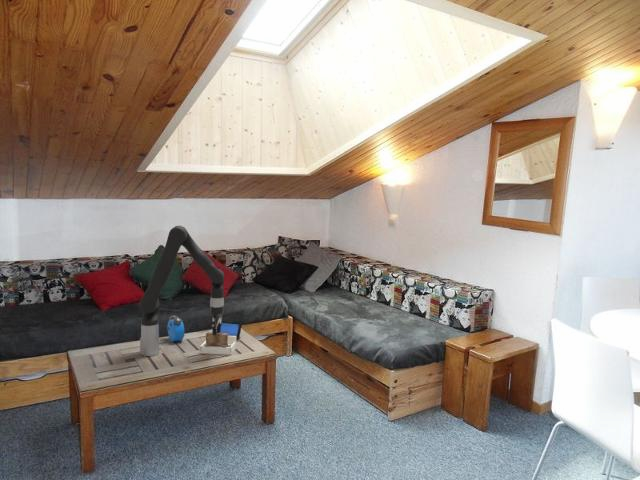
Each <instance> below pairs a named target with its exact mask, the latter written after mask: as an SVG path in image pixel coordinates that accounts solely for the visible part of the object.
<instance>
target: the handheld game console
mask: <svg viewBox="0 0 640 480" xmlns="http://www.w3.org/2000/svg"><path fill="white" fill-rule="evenodd" d="M242 327H243V326H242V323H241V322H232V321H223V320H222V322H221V330H220V331H217V333H228V336H236V342H238V341H239V340H240V336H241V331H242Z"/></svg>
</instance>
